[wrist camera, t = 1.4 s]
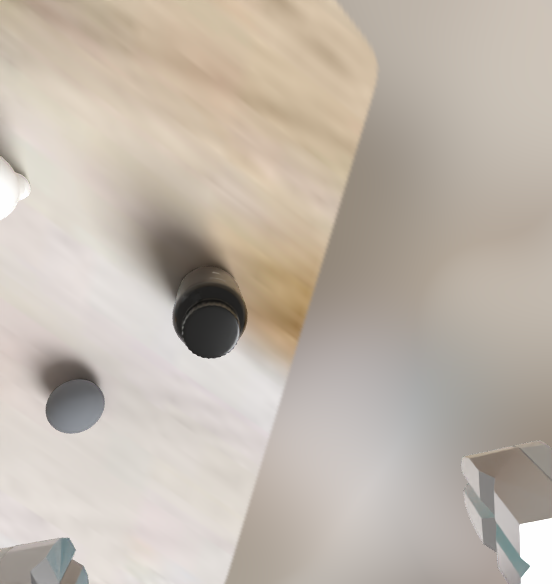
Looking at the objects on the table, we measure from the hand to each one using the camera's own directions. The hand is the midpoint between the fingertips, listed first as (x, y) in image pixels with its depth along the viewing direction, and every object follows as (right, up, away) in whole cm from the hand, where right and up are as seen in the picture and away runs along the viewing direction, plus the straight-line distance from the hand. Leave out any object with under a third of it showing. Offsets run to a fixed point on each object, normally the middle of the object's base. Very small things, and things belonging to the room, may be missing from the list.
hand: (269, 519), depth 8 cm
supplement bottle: (-7, +4, +34) cm, 36 cm away
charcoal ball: (-21, -7, +32) cm, 39 cm away
